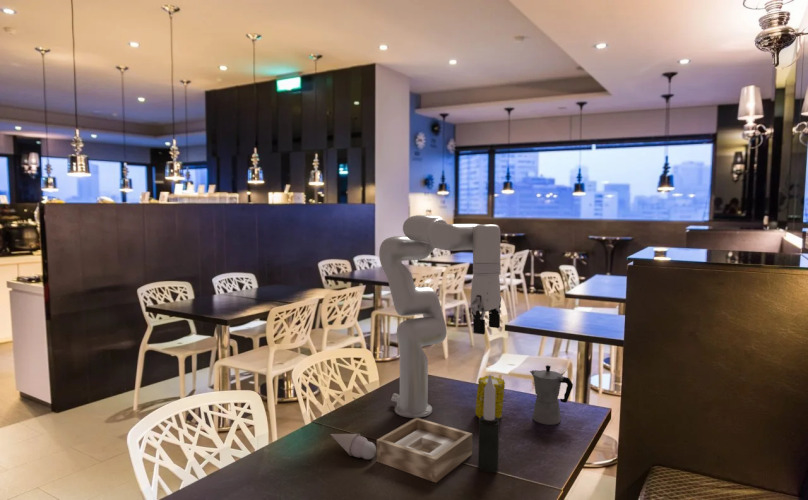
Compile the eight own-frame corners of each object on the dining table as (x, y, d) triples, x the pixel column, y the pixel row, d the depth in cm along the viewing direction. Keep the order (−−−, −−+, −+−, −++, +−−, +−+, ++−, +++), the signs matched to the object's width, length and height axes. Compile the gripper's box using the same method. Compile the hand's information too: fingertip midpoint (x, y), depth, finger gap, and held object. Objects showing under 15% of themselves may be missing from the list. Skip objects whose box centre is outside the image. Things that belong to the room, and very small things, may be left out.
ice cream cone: (328, 447, 151) (373, 467, 145) (320, 441, 146) (366, 461, 140) (338, 427, 154) (382, 445, 148) (331, 420, 149) (376, 439, 143)
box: (376, 461, 143) (376, 439, 143) (416, 436, 159) (416, 417, 158) (435, 482, 132) (436, 459, 132) (472, 454, 148) (472, 433, 147)
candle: (497, 472, 137) (499, 379, 135) (478, 470, 138) (479, 377, 136) (498, 463, 142) (500, 373, 140) (479, 461, 143) (480, 371, 141)
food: (487, 413, 180) (506, 424, 173) (463, 413, 174) (483, 424, 167) (496, 373, 181) (516, 382, 173) (473, 371, 174) (492, 380, 167)
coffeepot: (521, 417, 174) (522, 363, 172) (537, 409, 180) (538, 358, 179) (563, 431, 163) (565, 374, 161) (578, 423, 169) (580, 368, 168)
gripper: (487, 266, 155) (487, 324, 156) (459, 271, 141) (460, 334, 142) (511, 267, 151) (511, 326, 152) (485, 272, 136) (485, 337, 137)
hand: (487, 330), depth 147 cm, fingers open, 9 cm apart
